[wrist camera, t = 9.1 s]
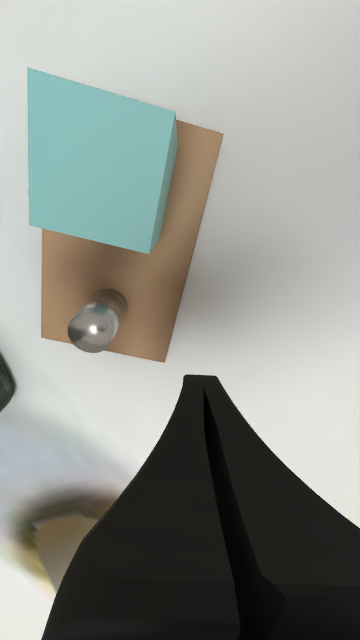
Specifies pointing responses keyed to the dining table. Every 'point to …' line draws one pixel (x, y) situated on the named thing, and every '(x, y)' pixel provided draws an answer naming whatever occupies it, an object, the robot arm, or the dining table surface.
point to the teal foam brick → (98, 162)
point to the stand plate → (134, 260)
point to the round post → (98, 321)
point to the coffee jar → (4, 388)
